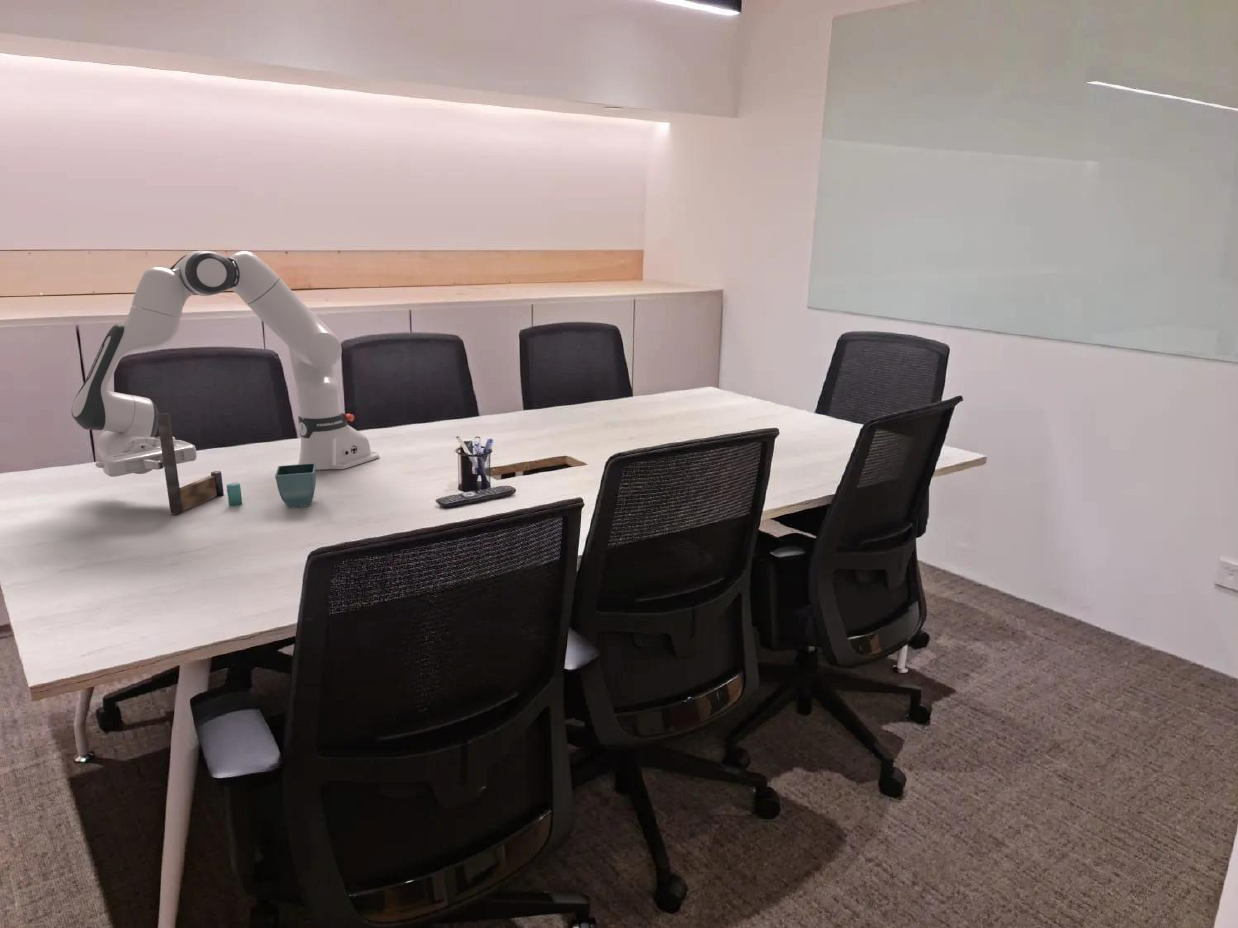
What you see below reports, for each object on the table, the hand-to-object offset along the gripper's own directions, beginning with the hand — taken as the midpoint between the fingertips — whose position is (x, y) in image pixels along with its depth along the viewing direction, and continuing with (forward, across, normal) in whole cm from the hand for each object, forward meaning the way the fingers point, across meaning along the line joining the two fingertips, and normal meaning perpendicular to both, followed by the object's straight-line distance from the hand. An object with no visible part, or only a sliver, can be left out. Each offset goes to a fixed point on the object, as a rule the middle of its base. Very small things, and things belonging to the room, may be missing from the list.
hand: (164, 464), depth 206 cm
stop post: (+5, +13, +12) cm, 18 cm away
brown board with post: (-1, +6, +11) cm, 13 cm away
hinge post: (-5, +14, +12) cm, 19 cm away
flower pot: (+17, +23, +12) cm, 31 cm away
